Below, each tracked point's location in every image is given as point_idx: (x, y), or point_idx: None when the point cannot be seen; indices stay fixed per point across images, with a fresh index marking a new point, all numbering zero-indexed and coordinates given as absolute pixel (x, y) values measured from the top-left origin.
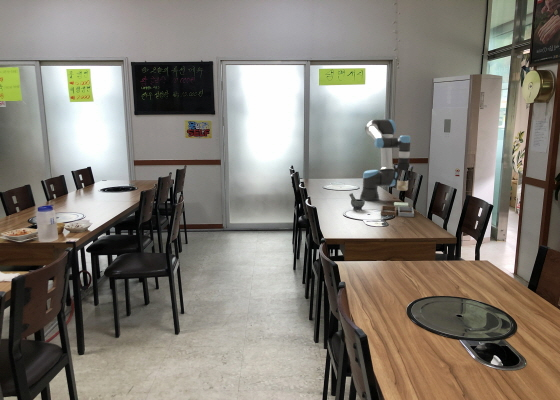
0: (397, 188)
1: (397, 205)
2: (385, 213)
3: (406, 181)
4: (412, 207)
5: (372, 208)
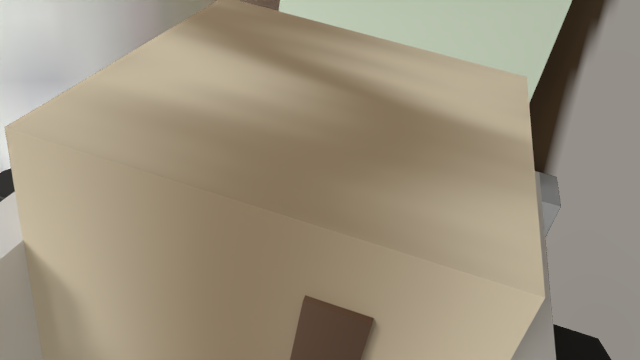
0: None
1: None
2: None
3: (494, 352)
4: (549, 214)
5: (18, 18)
